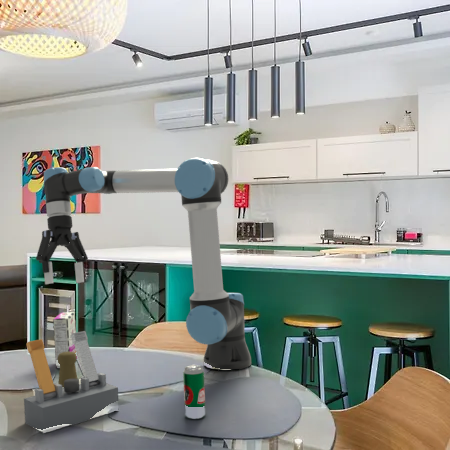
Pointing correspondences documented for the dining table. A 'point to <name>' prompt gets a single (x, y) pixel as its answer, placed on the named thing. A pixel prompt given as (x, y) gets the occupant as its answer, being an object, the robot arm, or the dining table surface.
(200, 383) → the soda can
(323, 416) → the dining table surface
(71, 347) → the candy bar box
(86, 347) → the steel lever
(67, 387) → the button
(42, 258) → the robot arm
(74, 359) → the cork
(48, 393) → the orange lever
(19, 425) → the dining table surface
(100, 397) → the console
